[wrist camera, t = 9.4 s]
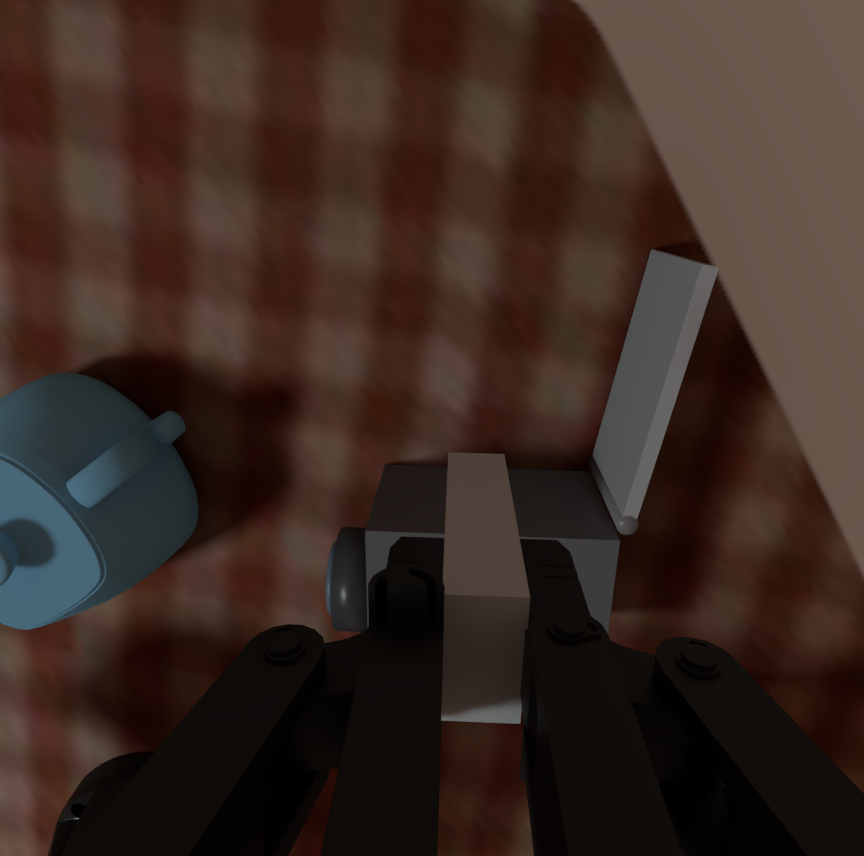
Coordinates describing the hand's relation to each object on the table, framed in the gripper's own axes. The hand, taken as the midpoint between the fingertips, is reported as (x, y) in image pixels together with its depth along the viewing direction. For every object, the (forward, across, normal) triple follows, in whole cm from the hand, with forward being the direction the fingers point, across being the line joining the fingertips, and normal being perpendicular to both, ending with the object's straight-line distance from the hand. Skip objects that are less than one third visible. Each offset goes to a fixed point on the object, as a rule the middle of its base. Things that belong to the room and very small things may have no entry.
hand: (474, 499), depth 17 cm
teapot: (+20, -23, -9) cm, 31 cm away
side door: (+19, +9, -1) cm, 21 cm away
